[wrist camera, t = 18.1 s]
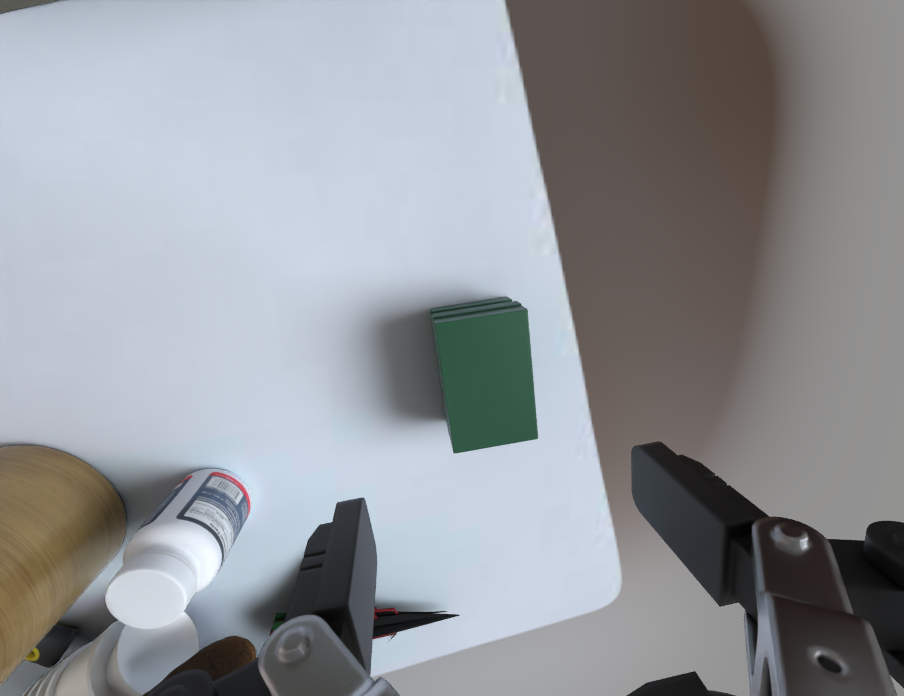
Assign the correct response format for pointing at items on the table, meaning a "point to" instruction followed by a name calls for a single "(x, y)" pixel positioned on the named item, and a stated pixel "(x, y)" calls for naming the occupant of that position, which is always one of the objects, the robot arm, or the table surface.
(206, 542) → the pill bottle
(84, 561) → the lamp
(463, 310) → the green book stack
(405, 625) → the toy spacecraft
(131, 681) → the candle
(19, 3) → the book
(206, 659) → the sculpture
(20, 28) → the table surface
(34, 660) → the mallet
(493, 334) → the green pocket book
